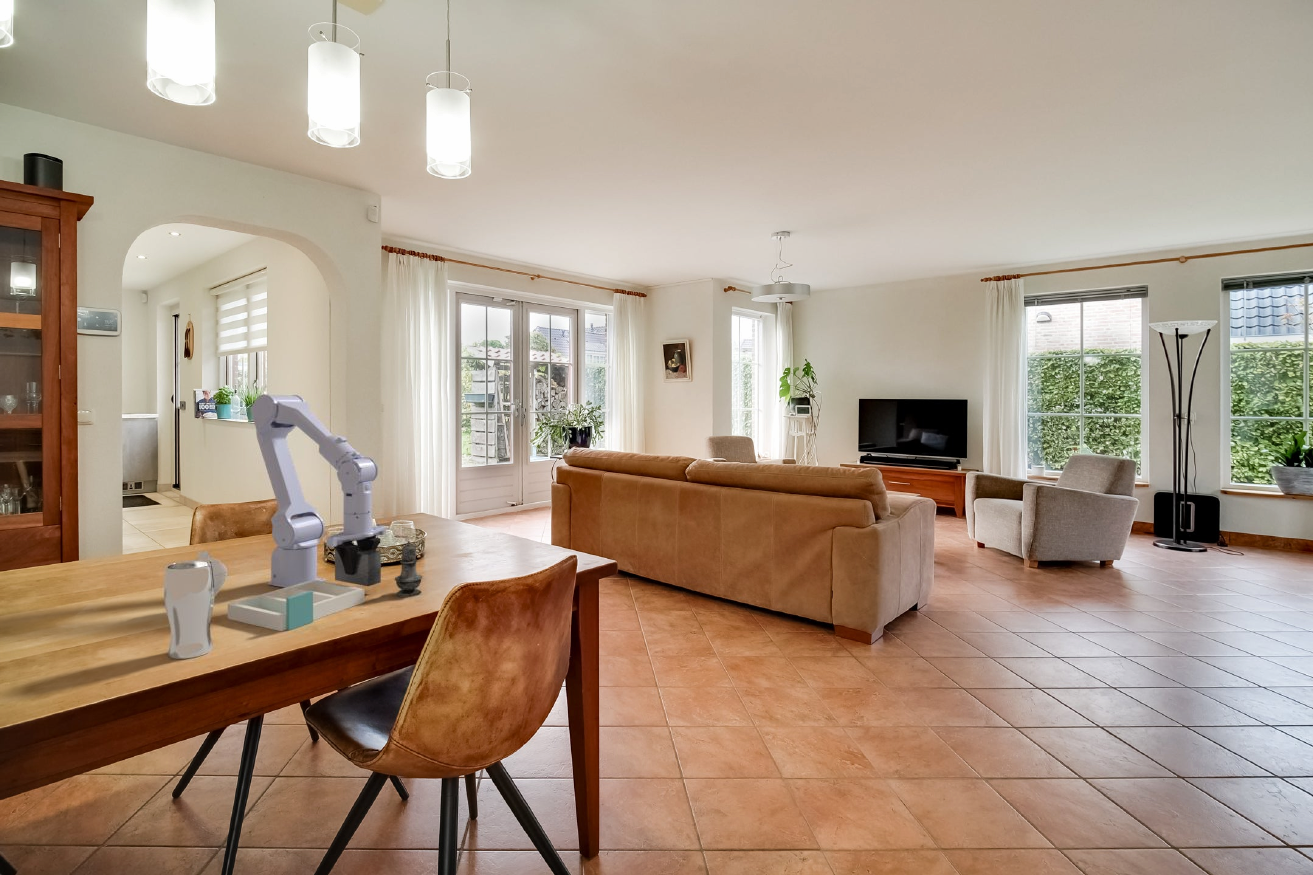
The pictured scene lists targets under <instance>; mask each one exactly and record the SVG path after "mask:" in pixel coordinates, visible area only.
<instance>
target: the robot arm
mask: <svg viewBox="0 0 1313 875" xmlns="http://www.w3.org/2000/svg"><path fill="white" fill-rule="evenodd" d="M250 413H251V416H252V420H253V423H254V427H255V432H256V440H257V443H258V445H259V449H260V453H261V455H262V458H263V463H264V465H265V468H266V471H267V474H268V479H269V481H270V484H271V487H272V491H273V495H274V497H275V500H276V504H277V506H278V510H277V511H276V512H275V513H274V515H272V517H271V518H270V521H271V524H272V529H271V531H272V532H271V535H272V540H273V541H274V543H275V544H276V545H277V546H276V547H275V548H274V549H273V551H272V553H271V558H270V571H271V572H270V578H271V579H270V580H271V581H268V582H267V585H269V586H274V587H280V588H286V587H290V586H293V585H297V584H300V583H304V582H308V581H311V580H319V581H324V582H327V579H326V578H323V577H322V578H321V577H318V559H317V558H318V544H320V539H322V538H323V536H324V535H325V529H326V526H325V522H324V520H323V518H322V517H321V516H320V514H319V513H318V511H317V508H316V507H315V506H314V505H312V504H311V503H308V502H307V501H306V500H305V497H304V492H303V490H302V487H301V486H302V485H301V482H300V480H299V477H298V474H297V470H296V468H295V465H294V460H293V459H292V458H293V457H292V454H291V451H290V449H289V448H290V447H289V445H288V442H287V436H288V435H289V433H291V432H293V430H294V429H295V428H296V427H297V428H298V429H300V430H301V431H302V432H303V434H305V435H306V436H308V438H310V439H311V440H312V441H314V443H315V444H316V445H318V446H319V447H318V453H319V454H320V456H322V458H324V459H325V460H326V461H327V462H328V463H329V464H330V465H331V466H332V467H333V468H334V469H335V471H336V476H337V478H338V481H339V482H340V485H341V491H342V493H343V522H342V523H343V530H342V531H340V532H338V533H335V534H334V535H330V536H326V546H327V547H332V548H334V550H335V549H336V551H337V552H338V554H339V556H340V558H341V561H342V563H343V567H344V570H345V574H348V575H354V574H355V568H356V556H357V552H358V549H359V548H361V549H367V550H374V551H377V548H378V547H379V545H380V544H381V538H380V537H378V536H386V535H387V526H383V525H376V526H372V524H373V523H372V522H373V521H372V520H373V516H372V514H373V512H372V511H373V482H374V481H375V480H376V478H377V476H378V474H379V469H378V465H377V463H376V462H375V460H374V459H373V458H372V457H369V456H363V455H361V453H360V452H359V451H357V450H355V448H353V447H352V446H351V445H350V444H349V443H348V442H347V441H348V439H347V438H346V437H345V436H341V435H339V434H336V435H335V434H334V435H333V434H331V432H330V431H329V430H328V428H326V426H325V425H324V424H323V423H322V422H321V421H320V420H319V418H318V417H317V416H315V414H314V413H313V412H312V411H311V405H310V403H309V402H307V401H306V400H305V399H304V398H303V397H302V396H301V395H298V394H293V395H283V394H282V395H281V394H278V395H276V394H275V395H274V394H273V395H272V394H267V393H266V394H265V393H263V394H260V395H258V396H257V397H256V398H255V400H254V402H253V404H252V406H251V407H250ZM354 542H356V544H355V543H354Z"/></svg>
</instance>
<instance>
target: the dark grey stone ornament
mask: <svg viewBox="0 0 1313 875" xmlns="http://www.w3.org/2000/svg"><path fill="white" fill-rule="evenodd" d="M401 549H402V550H401V560H400V561H399V562H400V563H401V571H400V575H398V576H396V577H394V581H395V583H396V586H397V588H398V589H400V590H398V591H397V592H396V593H395V596H396V597H400V598H410V597H417V596H419V595H421V594H422V591H421V589H420V590H419V589H418V588H419V587H420V585H421V582H422V579H423V578H424V577H423V575H422V574H418V573H417V562H418V559H417V555H416V554H417V550H416V546H415V545H414V544H411V541H410V540H408V541H407V543H406V544H405V545H403V546H402V548H401Z"/></svg>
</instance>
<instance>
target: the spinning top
mask: <svg viewBox="0 0 1313 875" xmlns="http://www.w3.org/2000/svg"><path fill="white" fill-rule="evenodd" d="M210 552H211V551H209V550H202V551H199V552H197V556H198V558H197V559H195V560H210V561H213V562H214V572H215V585H216V587H215V597H216V596H217V595H218V593H219V592H220V590H221V589H222V587H223V586H224V584H225V582H226V580H227V578H228V569H227V567H226V565H225V563H223V562H222V561H220V559H217V558H214V557H210V554H211V553H210Z"/></svg>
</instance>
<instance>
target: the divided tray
mask: <svg viewBox="0 0 1313 875" xmlns="http://www.w3.org/2000/svg"><path fill="white" fill-rule="evenodd" d="M365 592H366V591H365V588H361V587H356V586H351V585H344V584H340V583H334V582H328V581H325V582H324V581H319V580H311V581H308V582H304V583H300V584H297V585H293V586H290V587H286V588H284V587H282V588H279V589H277V590H276V589H275V590H272V591H269V592H266V593H262V594H259V595H255V596H252V597H251V596H250V597H248V598H243V599H241V600H237V601H234V602H230V603H227V619H228V620H232V621H236V622H239V623H240V622H241V623H245V624H248V625H249V624H250V625H251V626H252V625H253V626H258V627H260V628H266V629H269V630H274V631H279V632H283V631H286V630H287V631H292V630H295V629H297V628H300V627H303V626H305V625H310V624H312V623H314V621H315V620H318V619H320V618H324V617H326V616H327V617H328V616H329V615H333V614H336V613H338V612H341V611H345V610H347V609H349V608H352V607H355V606H358V605H360V604H364V603H365V598H366V597H365Z"/></svg>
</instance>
